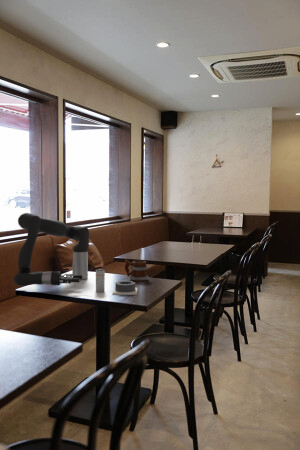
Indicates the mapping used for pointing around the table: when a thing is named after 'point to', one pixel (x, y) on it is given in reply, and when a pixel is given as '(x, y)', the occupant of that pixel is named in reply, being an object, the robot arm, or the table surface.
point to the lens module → (100, 280)
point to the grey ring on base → (125, 288)
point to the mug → (137, 270)
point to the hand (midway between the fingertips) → (80, 278)
